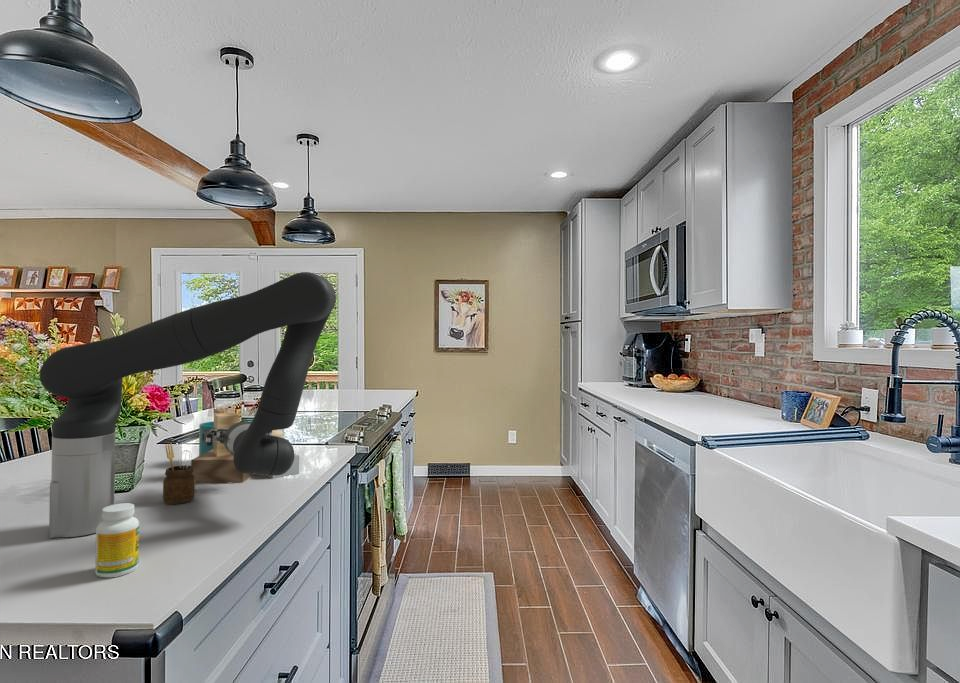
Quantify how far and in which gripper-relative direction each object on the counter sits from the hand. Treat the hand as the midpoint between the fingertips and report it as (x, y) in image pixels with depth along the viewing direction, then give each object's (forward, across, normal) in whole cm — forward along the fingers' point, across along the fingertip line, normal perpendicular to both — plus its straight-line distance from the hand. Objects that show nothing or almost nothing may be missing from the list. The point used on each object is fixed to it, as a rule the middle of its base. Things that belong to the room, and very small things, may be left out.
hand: (232, 430), depth 127 cm
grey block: (+3, -12, +13) cm, 18 cm away
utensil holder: (-9, +12, +13) cm, 20 cm away
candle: (+15, -13, +13) cm, 24 cm away
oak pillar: (+8, 0, +7) cm, 11 cm away
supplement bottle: (-43, +23, +13) cm, 50 cm away
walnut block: (+8, 0, +13) cm, 15 cm away
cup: (+22, 0, +13) cm, 26 cm away
